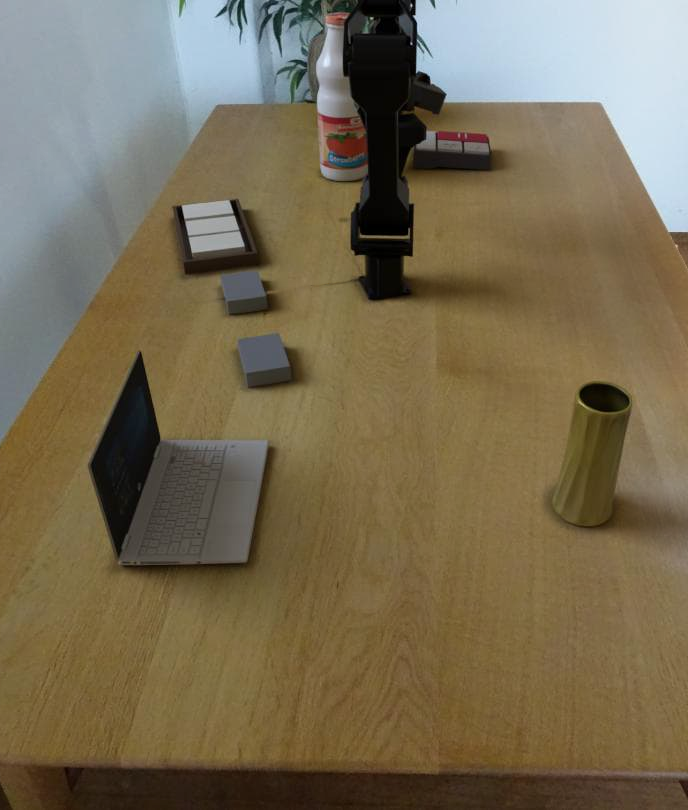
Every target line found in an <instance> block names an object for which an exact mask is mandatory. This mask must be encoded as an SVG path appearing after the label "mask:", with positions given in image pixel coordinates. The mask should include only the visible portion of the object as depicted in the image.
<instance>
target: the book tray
mask: <svg viewBox="0 0 688 810" xmlns="http://www.w3.org/2000/svg"><path fill="white" fill-rule="evenodd" d="M226 200H227V199H223V200H222V201H226ZM228 200H229V201H230V204H231V207H232V210H233V213H234V216H235V218H236V221H237V224H238V227H239V231H240V233H241V236H242V239H243V242H244V245H245V252H246V253H239V254H232V255H224V256H216V257H208V258H200V259H193V257H192V252H191V248H190V243H189V238H188V233H187V229H186V225H185V220H184V215H183V209H182V205H183V204H180V205H179V204H178V205H172V212H173V217H174V223H175V228H176V233H177V239H178V244H179V249H180V254H181V260H182V264H183V265H182V266H183V270H184V275H193V274H199V273H207V272H216V271H222V270H231V269H238V268H246V267H253V266H259V265H260V262H259V252H258V250H257V246H256V243H255V241H254V238H253V236H252V233H251V231H250V227H249V224H248V221H247V219H246V216H245V213H244V210H243V208H242V204H241V201H240V199H239V198H233V199H228ZM217 201H218V200H215V201H214V200H213V202H217ZM208 202H209V201H207V202H206V201H205V202H204V203H208ZM199 203H200V202H198V203H197V202H196V203H195V204H199ZM190 204H191V203H189V204H188V203H187V204H186V205H190Z"/></svg>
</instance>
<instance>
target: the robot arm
mask: <svg viewBox="0 0 688 810" xmlns="http://www.w3.org/2000/svg"><path fill="white" fill-rule="evenodd" d="M356 2H357V5H355V6H354V7H353V9H352V10H351V11H350V12H349V13H350V14H349V16H348V17H347V18H346V20H345V22H344V36H343V75H344V77H349V84H350V94H351V98H352V99H353V100H354V106H355V107H356V109H357V114H358V115H359V118H360V120H361V122H362V125H363V127H364V129H365V132H366V143H367V161H368V174H367V175H366V176H365V177H363V178H362V183H361V184H362V185H361V186H360V192H359V201H357V202H356V201H355V206H354V208H353V210H352V211H351V212H350V237H349V239H350V250H351V251H352V252H353V253H354V254H353V255H354V256H355V257H359V256H364V275H359V276H358V282H359V284H360V286H361V288H362V290H363V292H364V293H365V295H366V297H367V299H368V300H378V299H385V298H391V297H399V296H405V295H411V294H412V289H411V287H410V286H409V284H408V282H407V280H406V279H405V257H409V258H412V257H414V226H415V225H414V223H415V222H414V221H415V202H413V203H410V187H409V181H408V179H407V177H406V176H405V175H404V176H403V173H404V170H405V167H406V164H407V161H408V158H409V155H410V153H411V150H412V149H414V146H415V145H416V144H420V143H421V142H422V141H425V140H426V133H427V131H428V130H427V129H428V127H427V125H426V124H425V123H424V122H423V121H422V120H421V119H420V118H419V117H418V116H417V115H416V114H415V113H414V112H415V109H416V108H418V109H421V110H425V111H428V112H431V114H433V115H436V116H439V115H440V114H441V111H442V109H443V106H444V104H445V100H446V98H447V93H446V92H445V91H444V90H443V89H442V88H440V87H439V86H437V85H436V84H434V83H432V82H431V76H430V75H429V74H427V73H426V72H423V71H420V70H417V60H418V57H417V56H418V21H417V19H416V18H415V16H417V0H356ZM367 18H372V21H371V22H372V23H371V24H370V25H369V27H368V28H367V32H360V31H361V30H362V29H363V28H364V26H365V25H366V23H367ZM404 112H407V113H404ZM410 112H411V113H410ZM361 236H367V237H361ZM368 236H369V237H368ZM370 236H375V237H370ZM377 236H380V237H377ZM408 236H409V238H398V237H408ZM386 237H387V238H386ZM389 237H391V238H389ZM393 237H397V238H393Z"/></svg>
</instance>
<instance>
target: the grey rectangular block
mask: <svg viewBox="0 0 688 810" xmlns="http://www.w3.org/2000/svg"><path fill="white" fill-rule="evenodd" d="M219 277H220V284H221V288H222V292H223V298H224V302H225V305H226V309H227V314H228V315H229V316H231V315H239V314H244V313H245V314H246V313H250V312H259V311H266V310H268V299H267V295H266V291H265V289H264V288H265V287H264V285H263V282H262V280H261V277H260V274H259V271H258V270H257V269H256V270H255V269H254V270H248V271H241V272H233V273H226V274H220V275H219Z"/></svg>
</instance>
